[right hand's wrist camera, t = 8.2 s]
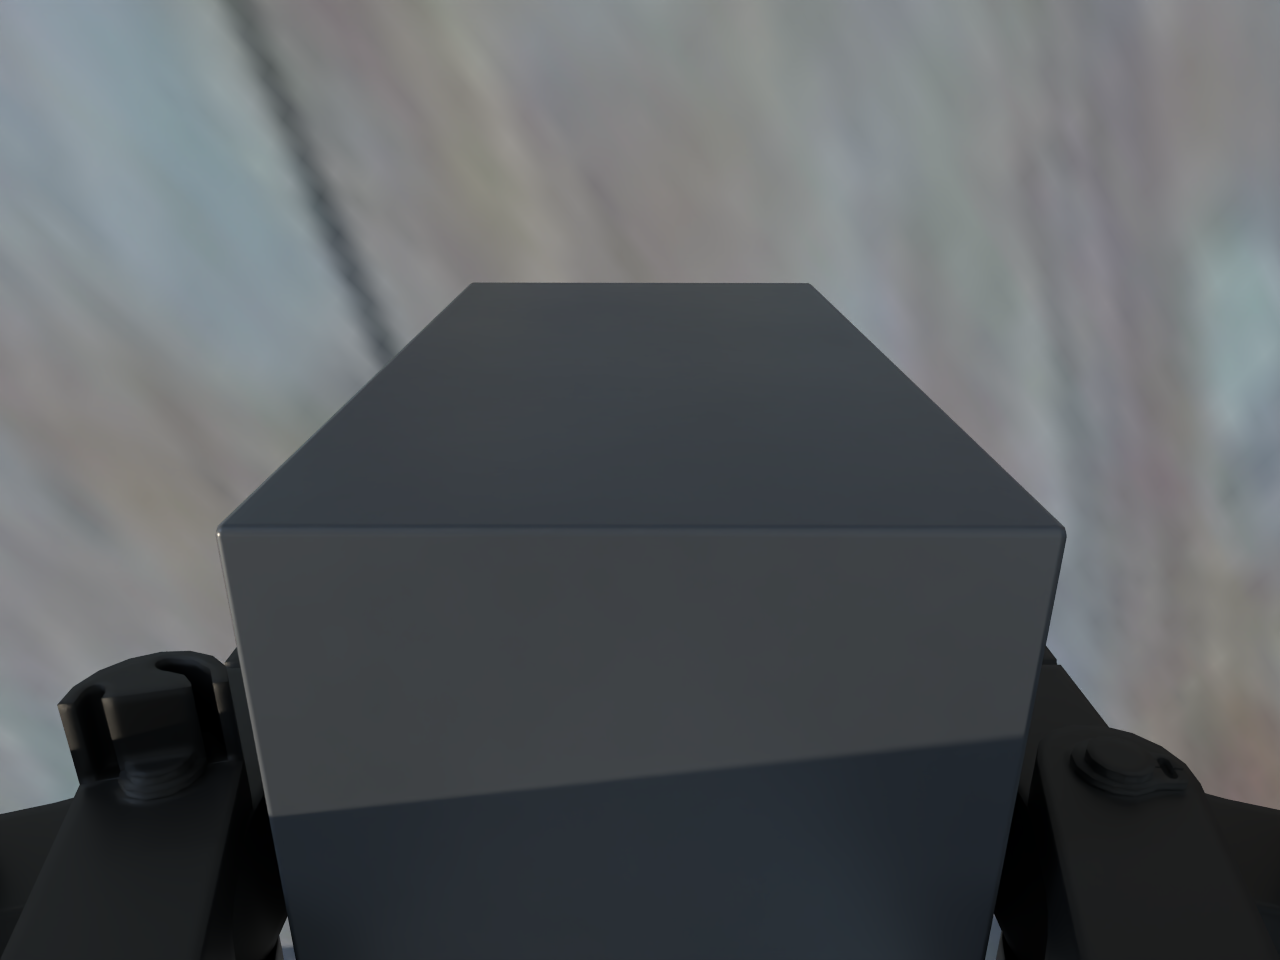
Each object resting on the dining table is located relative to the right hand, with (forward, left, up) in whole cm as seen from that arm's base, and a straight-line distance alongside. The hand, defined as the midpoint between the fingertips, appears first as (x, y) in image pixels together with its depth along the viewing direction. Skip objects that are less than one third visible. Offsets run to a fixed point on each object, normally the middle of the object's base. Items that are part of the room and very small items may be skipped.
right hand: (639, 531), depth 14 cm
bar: (+6, +6, -1) cm, 9 cm away
